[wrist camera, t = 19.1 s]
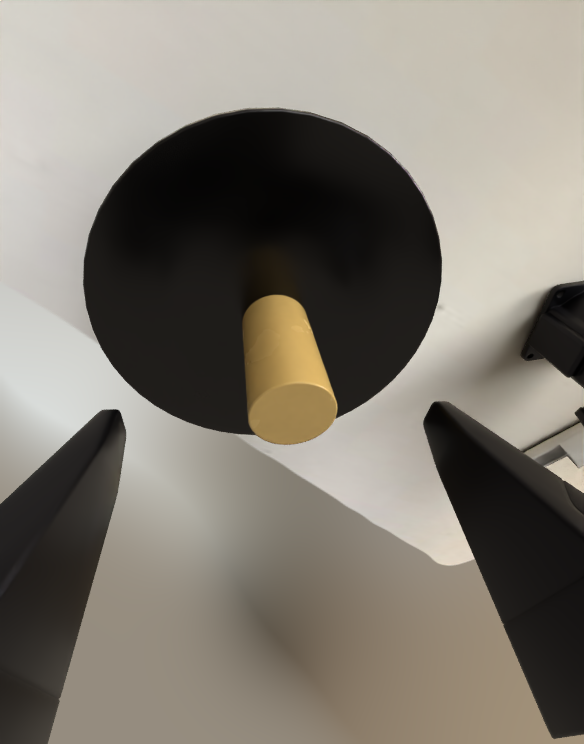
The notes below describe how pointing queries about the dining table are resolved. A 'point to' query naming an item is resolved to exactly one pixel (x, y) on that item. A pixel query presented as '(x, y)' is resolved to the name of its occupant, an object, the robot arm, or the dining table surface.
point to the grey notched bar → (561, 447)
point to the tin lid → (262, 272)
